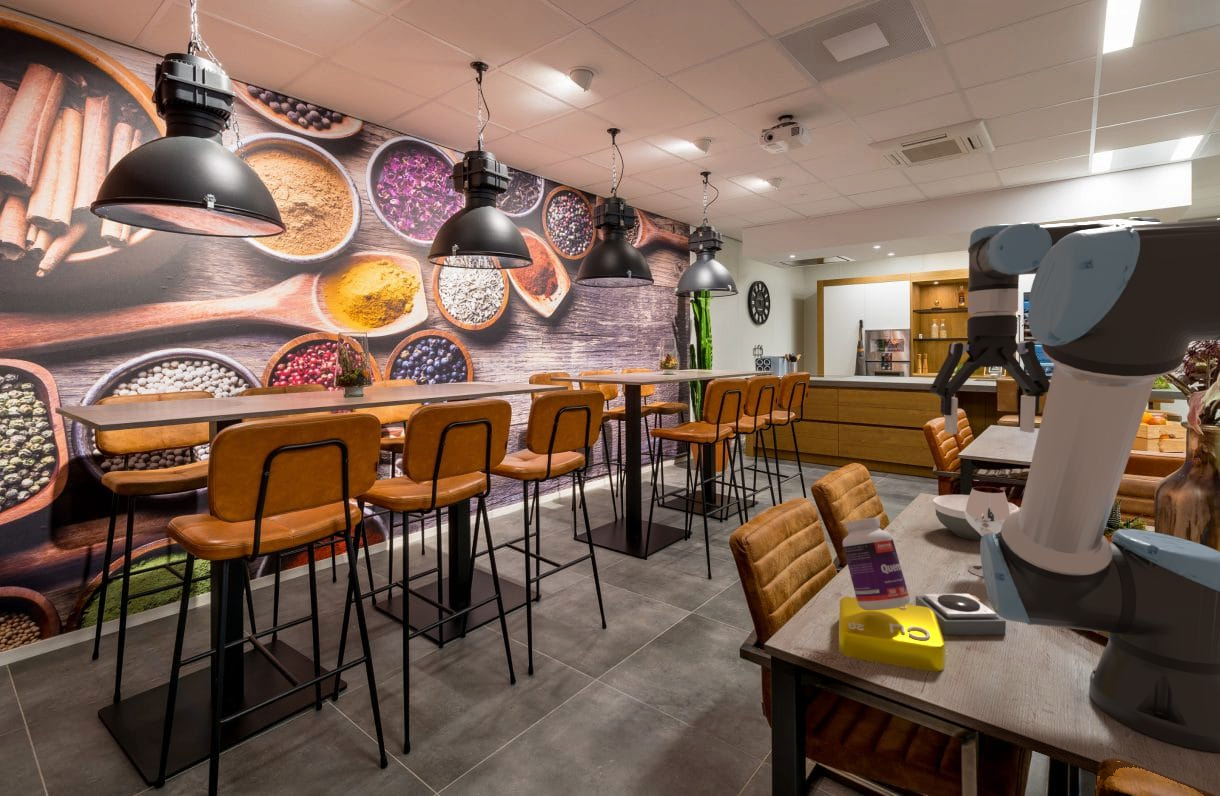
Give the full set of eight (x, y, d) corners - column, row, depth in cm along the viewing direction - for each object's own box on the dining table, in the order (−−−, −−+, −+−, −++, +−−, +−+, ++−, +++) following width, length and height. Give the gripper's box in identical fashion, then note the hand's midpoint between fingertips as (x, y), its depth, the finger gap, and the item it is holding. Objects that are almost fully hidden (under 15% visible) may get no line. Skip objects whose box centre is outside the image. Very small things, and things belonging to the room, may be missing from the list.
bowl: (918, 524, 157) (918, 494, 156) (988, 523, 156) (989, 493, 155) (956, 547, 138) (957, 514, 138) (1036, 546, 138) (1037, 513, 137)
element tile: (932, 630, 99) (933, 604, 99) (946, 676, 86) (947, 646, 85) (839, 617, 105) (840, 592, 105) (838, 658, 91) (838, 629, 91)
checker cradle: (1005, 634, 96) (1005, 618, 96) (944, 635, 97) (945, 618, 97) (970, 608, 106) (970, 593, 106) (915, 608, 107) (915, 593, 106)
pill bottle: (898, 610, 89) (873, 517, 93) (850, 612, 95) (828, 525, 99) (919, 602, 95) (894, 514, 99) (873, 605, 100) (850, 522, 104)
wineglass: (969, 578, 120) (971, 493, 119) (958, 563, 128) (960, 484, 126) (1015, 581, 118) (1018, 495, 116) (1000, 567, 125) (1003, 486, 124)
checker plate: (995, 624, 97) (996, 612, 97) (947, 625, 98) (947, 612, 97) (968, 604, 105) (968, 592, 105) (923, 604, 106) (924, 592, 105)
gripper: (1048, 314, 106) (1044, 428, 108) (911, 318, 107) (909, 430, 109) (1080, 311, 99) (1074, 434, 100) (932, 315, 100) (929, 436, 101)
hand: (988, 432), depth 105 cm, fingers open, 13 cm apart
